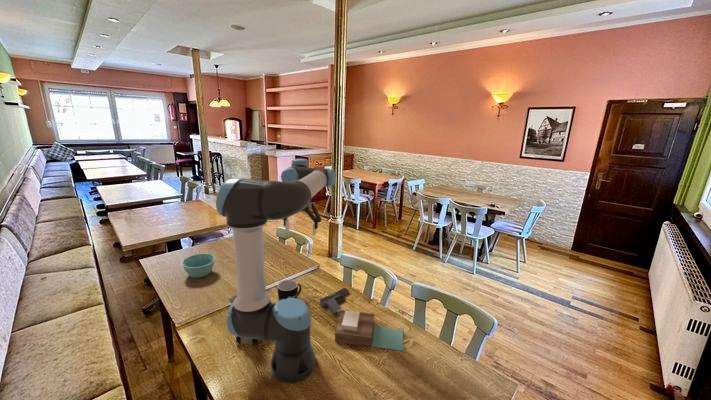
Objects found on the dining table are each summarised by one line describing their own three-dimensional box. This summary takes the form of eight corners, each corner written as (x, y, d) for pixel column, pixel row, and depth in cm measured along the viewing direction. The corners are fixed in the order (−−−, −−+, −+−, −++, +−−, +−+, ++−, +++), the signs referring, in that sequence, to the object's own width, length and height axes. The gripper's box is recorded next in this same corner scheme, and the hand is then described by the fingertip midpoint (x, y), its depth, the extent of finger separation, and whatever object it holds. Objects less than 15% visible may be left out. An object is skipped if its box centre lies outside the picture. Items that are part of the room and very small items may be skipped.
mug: (286, 313, 126) (285, 293, 123) (274, 304, 131) (273, 285, 129) (307, 301, 135) (307, 282, 132) (295, 293, 140) (294, 275, 137)
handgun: (361, 298, 137) (344, 286, 145) (334, 313, 124) (317, 299, 132) (361, 302, 138) (343, 290, 145) (334, 318, 125) (316, 304, 133)
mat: (403, 351, 108) (403, 350, 108) (371, 346, 109) (371, 346, 109) (402, 329, 119) (402, 328, 119) (374, 325, 121) (374, 324, 120)
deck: (370, 346, 109) (371, 337, 108) (334, 341, 111) (335, 333, 110) (373, 322, 122) (374, 314, 121) (341, 318, 124) (341, 310, 123)
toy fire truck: (270, 320, 121) (269, 283, 117) (257, 348, 106) (255, 307, 102) (244, 318, 122) (241, 281, 117) (227, 346, 107) (223, 305, 102)
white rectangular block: (356, 331, 111) (356, 326, 111) (341, 329, 112) (341, 324, 111) (359, 316, 120) (359, 312, 119) (345, 314, 120) (345, 310, 120)
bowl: (219, 276, 152) (217, 262, 150) (184, 284, 143) (182, 270, 141) (214, 264, 164) (212, 251, 162) (182, 271, 156) (180, 257, 154)
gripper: (327, 191, 137) (327, 233, 143) (278, 188, 140) (279, 228, 146) (324, 195, 130) (323, 238, 136) (271, 191, 133) (273, 234, 139)
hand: (300, 233), depth 141 cm, fingers open, 13 cm apart
